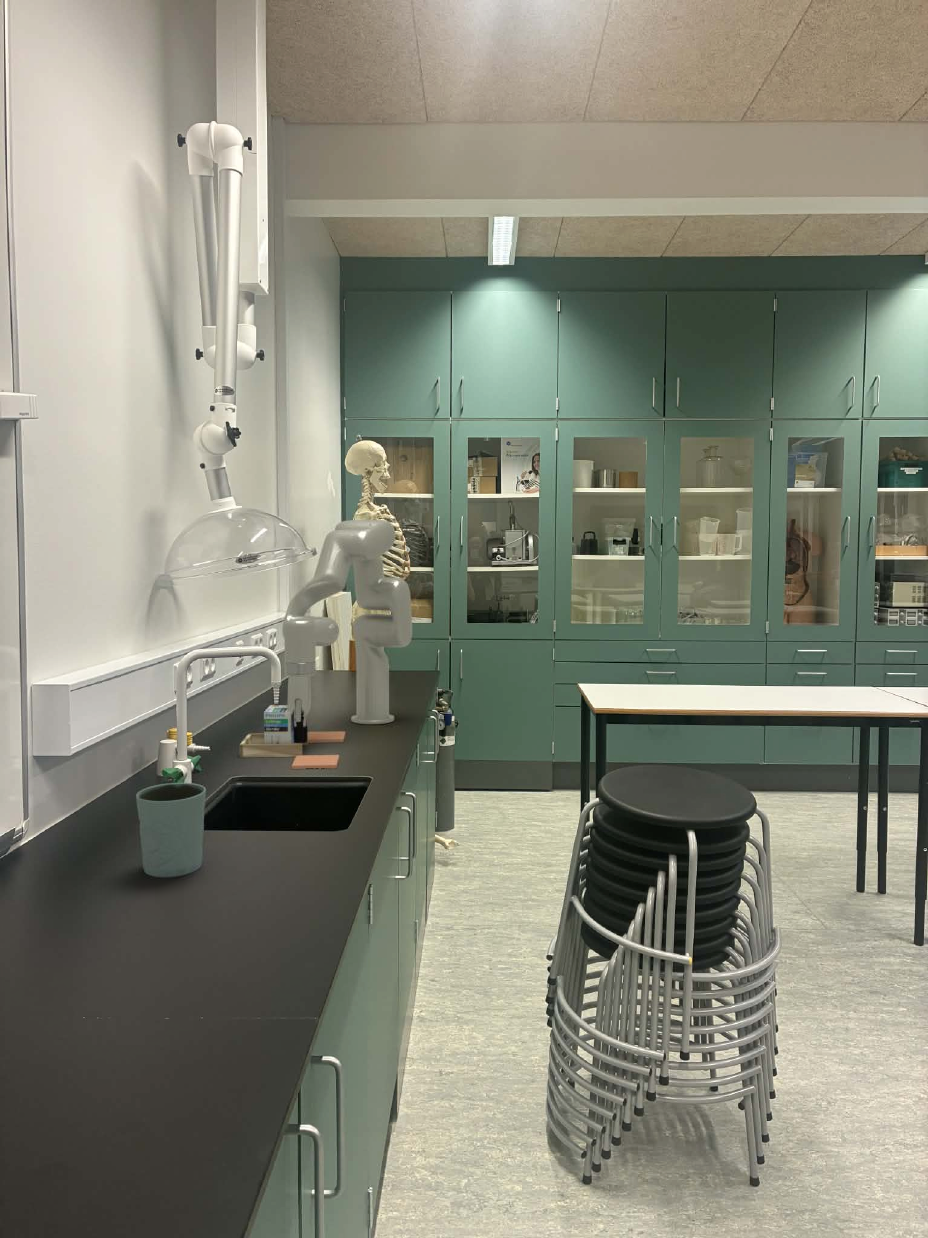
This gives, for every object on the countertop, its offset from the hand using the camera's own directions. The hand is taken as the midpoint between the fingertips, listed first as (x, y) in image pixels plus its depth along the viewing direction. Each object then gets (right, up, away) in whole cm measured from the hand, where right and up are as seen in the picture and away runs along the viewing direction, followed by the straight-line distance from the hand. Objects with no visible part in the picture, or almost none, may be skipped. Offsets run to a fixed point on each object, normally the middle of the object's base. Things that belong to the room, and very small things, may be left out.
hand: (300, 742), depth 211 cm
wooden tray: (-6, -2, 0) cm, 6 cm away
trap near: (+6, -3, -13) cm, 15 cm away
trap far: (+4, -1, +14) cm, 15 cm away
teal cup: (-4, -8, -80) cm, 81 cm away
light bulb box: (-5, -2, 0) cm, 6 cm away
